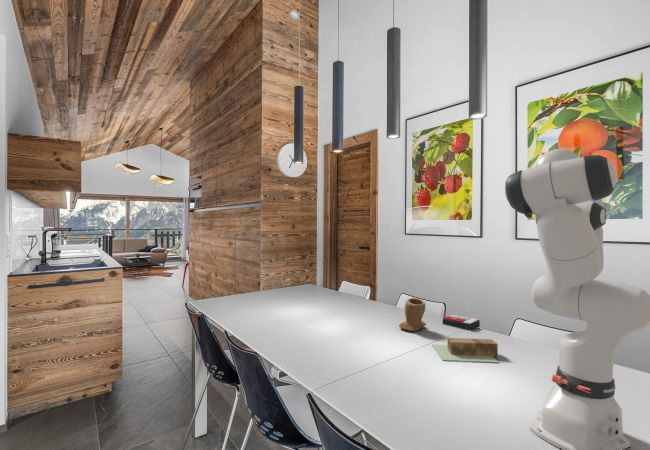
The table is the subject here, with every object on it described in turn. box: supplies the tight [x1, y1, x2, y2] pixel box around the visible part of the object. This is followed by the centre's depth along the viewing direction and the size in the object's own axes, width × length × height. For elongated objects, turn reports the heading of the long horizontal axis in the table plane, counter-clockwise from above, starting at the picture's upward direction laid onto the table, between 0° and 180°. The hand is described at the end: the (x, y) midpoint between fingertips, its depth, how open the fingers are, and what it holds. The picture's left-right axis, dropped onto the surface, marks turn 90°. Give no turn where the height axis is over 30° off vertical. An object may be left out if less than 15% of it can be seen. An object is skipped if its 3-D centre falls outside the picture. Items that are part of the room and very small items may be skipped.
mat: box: [431, 343, 500, 364], centre depth 134 cm, size 21×16×1 cm
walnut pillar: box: [447, 337, 499, 357], centre depth 134 cm, size 5×5×18 cm
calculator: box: [442, 314, 481, 332], centre depth 172 cm, size 11×4×15 cm
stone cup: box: [398, 297, 427, 332], centre depth 165 cm, size 15×12×15 cm
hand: (585, 280), depth 113 cm, fingers closed
